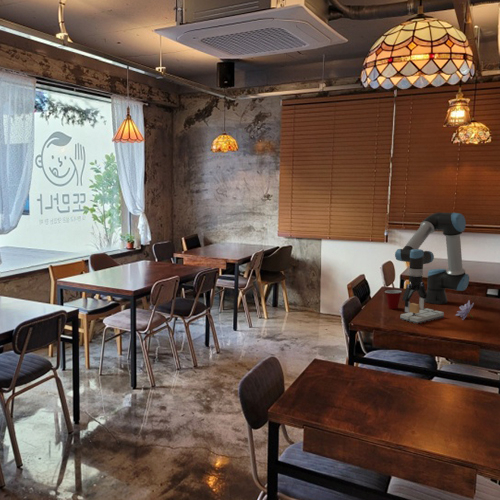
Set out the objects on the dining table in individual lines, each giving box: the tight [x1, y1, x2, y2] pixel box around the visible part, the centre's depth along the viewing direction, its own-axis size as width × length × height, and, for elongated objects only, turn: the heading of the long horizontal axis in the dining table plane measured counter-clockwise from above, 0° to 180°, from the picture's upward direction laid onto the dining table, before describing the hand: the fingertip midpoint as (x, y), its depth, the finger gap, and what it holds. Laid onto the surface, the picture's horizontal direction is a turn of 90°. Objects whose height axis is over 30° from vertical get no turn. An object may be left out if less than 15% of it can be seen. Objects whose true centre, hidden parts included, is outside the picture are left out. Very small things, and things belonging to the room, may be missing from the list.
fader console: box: [399, 307, 445, 325], centre depth 278 cm, size 12×26×3 cm, turn 124°
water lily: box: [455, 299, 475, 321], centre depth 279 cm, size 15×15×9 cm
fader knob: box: [410, 302, 421, 316], centre depth 273 cm, size 5×3×9 cm, turn 34°
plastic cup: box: [384, 289, 402, 310], centre depth 302 cm, size 11×11×12 cm
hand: (414, 310), depth 273 cm, fingers open, 13 cm apart
